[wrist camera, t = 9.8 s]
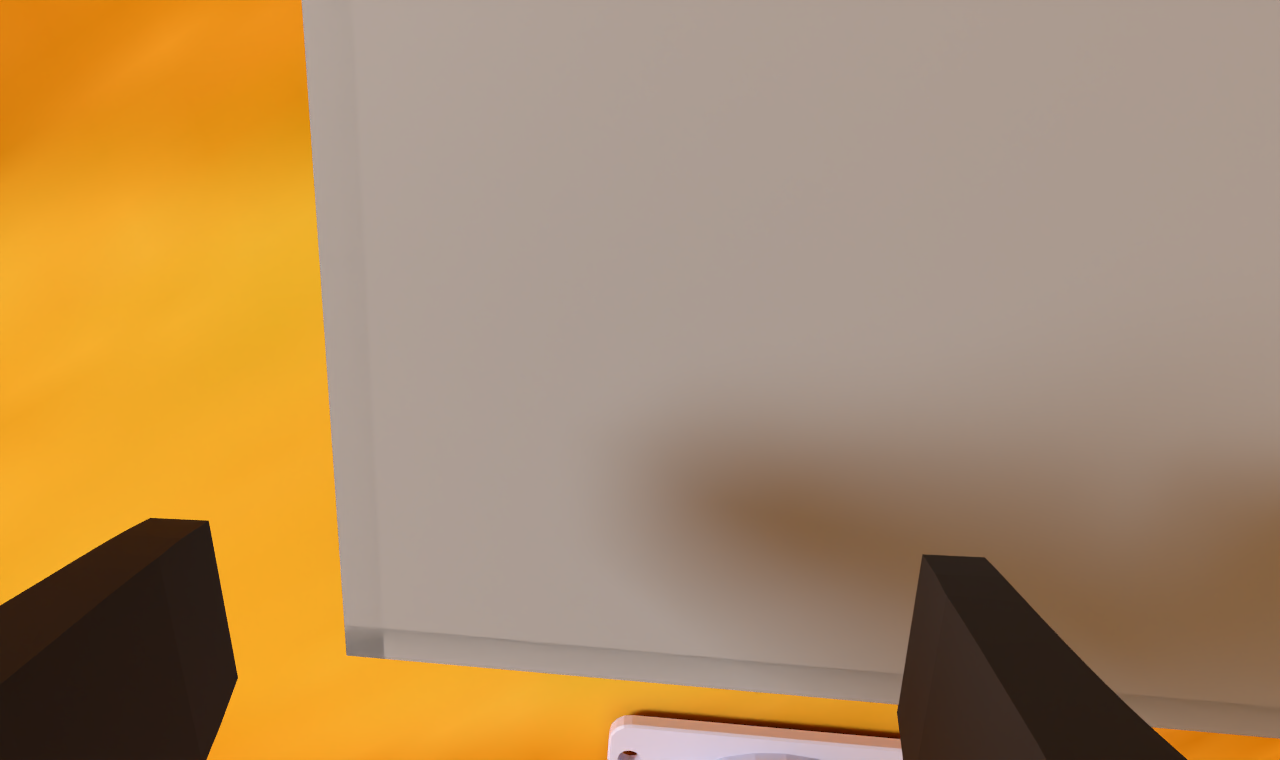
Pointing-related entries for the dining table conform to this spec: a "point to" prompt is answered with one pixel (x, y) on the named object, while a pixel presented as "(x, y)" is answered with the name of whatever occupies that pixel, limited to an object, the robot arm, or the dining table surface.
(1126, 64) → the carton
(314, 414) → the dining table surface
